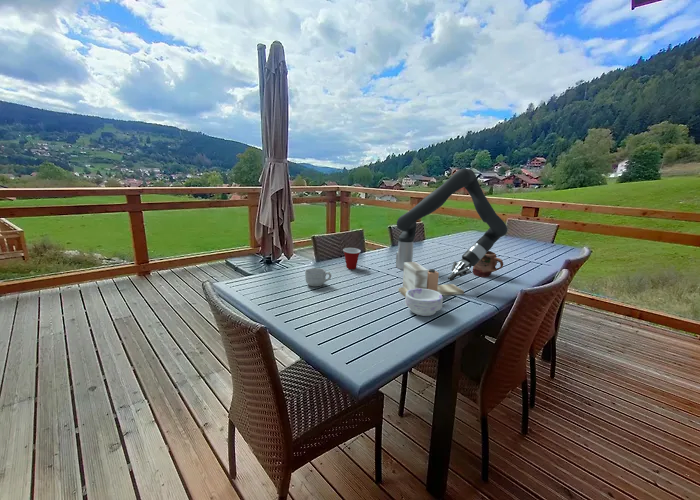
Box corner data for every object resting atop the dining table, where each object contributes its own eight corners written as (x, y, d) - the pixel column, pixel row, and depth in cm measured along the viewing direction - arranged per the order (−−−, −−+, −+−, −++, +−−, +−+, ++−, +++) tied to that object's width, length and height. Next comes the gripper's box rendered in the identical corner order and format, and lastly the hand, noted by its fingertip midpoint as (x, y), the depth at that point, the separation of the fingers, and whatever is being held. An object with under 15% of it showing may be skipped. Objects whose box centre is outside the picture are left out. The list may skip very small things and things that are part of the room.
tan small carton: (432, 286, 150) (434, 267, 147) (437, 290, 145) (439, 270, 142) (423, 287, 149) (424, 268, 146) (427, 291, 144) (429, 271, 141)
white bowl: (414, 301, 136) (416, 284, 134) (447, 310, 127) (448, 293, 125) (397, 312, 125) (398, 294, 123) (431, 323, 115) (433, 304, 114)
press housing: (450, 285, 157) (453, 259, 154) (466, 295, 144) (469, 267, 140) (397, 289, 151) (398, 262, 147) (407, 299, 137) (409, 271, 134)
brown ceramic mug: (506, 277, 171) (509, 254, 167) (497, 282, 163) (500, 257, 160) (473, 269, 185) (475, 247, 182) (463, 273, 178) (465, 250, 174)
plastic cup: (353, 272, 177) (353, 252, 175) (339, 268, 184) (339, 249, 181) (363, 267, 186) (364, 249, 183) (350, 264, 192) (350, 246, 189)
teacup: (301, 286, 154) (300, 271, 152) (313, 280, 163) (312, 266, 161) (323, 290, 147) (323, 275, 146) (335, 284, 157) (335, 269, 155)
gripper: (462, 246, 152) (438, 270, 153) (478, 252, 140) (452, 279, 140) (470, 256, 155) (447, 280, 155) (486, 263, 142) (461, 288, 142)
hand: (449, 279), depth 148 cm, fingers closed
